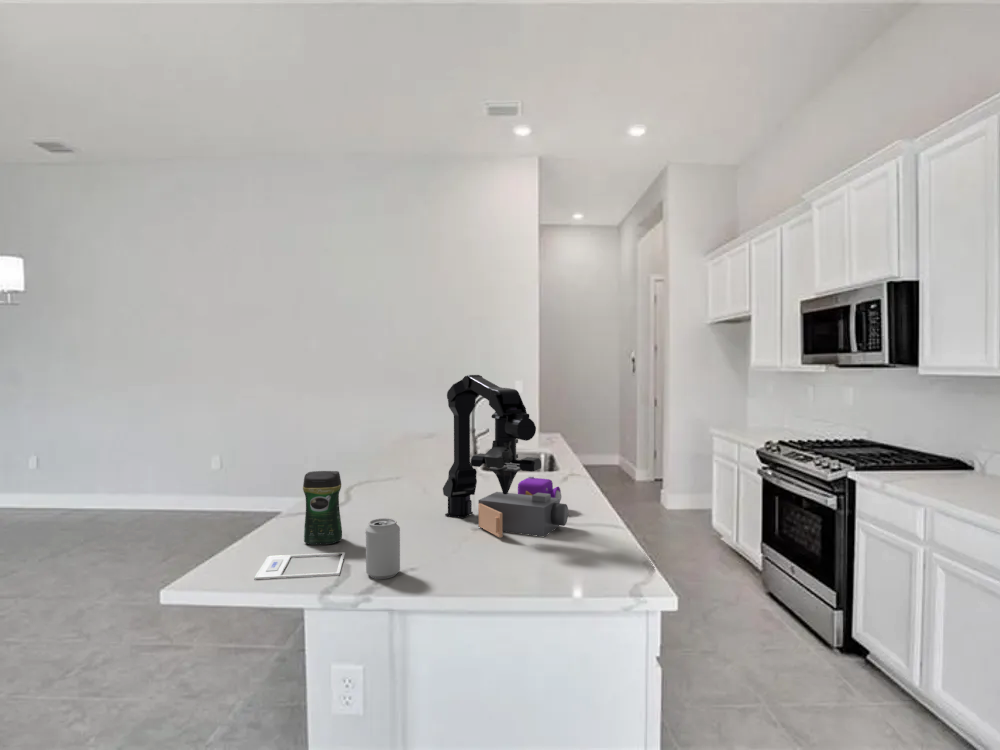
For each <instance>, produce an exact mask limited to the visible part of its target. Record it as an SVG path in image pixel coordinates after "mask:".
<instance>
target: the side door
mask: <svg viewBox="0 0 1000 750" xmlns="http://www.w3.org/2000/svg"><path fill="white" fill-rule="evenodd" d="M479 527H481V528H480V529H482V528H483V530H484V531H487V532H489V533H491V534H492V535H494V536H496V537H498V538H503V531H502V513H501V512H499V511H497V510H494V509H492V508H490V507H488V506H486V505H483V504H481V503H479Z"/></svg>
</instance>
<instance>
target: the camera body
mask: <svg viewBox="0 0 1000 750" xmlns="http://www.w3.org/2000/svg"><path fill="white" fill-rule="evenodd" d="M479 503H481V504H483V505H486V506H488V507H490V508H492V509H494V510H497V511H499V512H501V513H502V532H504V531H507V532H506V533H511V532H514V533H513V534H518V533H522V534H521V535H525V534H529V535H528V536H533V535H537V536H536V537H540V536H545V537H546V536H547V534H548V533H549V534H550V533H552V532H553V531H554V529H555V528H556V529H557V528H559V527H560V526H562V527H564V526H566V525H567V523H568V519H569V507H568V504H567V503H561V501H560V498H551V494H546V493H536V494H534V495H523V494H518V493H513V492H508V494H503V492H502V491H495V492H493V493H491V494H489V495H487V496H484V497H482V498H480V499H478V512H477V513H478V519H477V521H478V526H477V527H479ZM558 526H559V527H558ZM479 529H482V528H481V527H480V528H479ZM556 529H555V530H556ZM552 530H553V531H552ZM551 531H552V532H551ZM549 534H548V535H549Z"/></svg>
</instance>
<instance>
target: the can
mask: <svg viewBox="0 0 1000 750" xmlns="http://www.w3.org/2000/svg"><path fill="white" fill-rule="evenodd" d="M397 523H398V522H397V519H395V518H389V517H385V518H375V519H371V520H370V521H368V526H367V527H366V528H365V572H366V574H368V575H369V577H370V578H372V579H378V580H384V579H391V578H393V577H395V576H396V575H397V574H398V573H399V572H400V571H401V530H400V529H401V527H400V526H399V525H398V524H397Z"/></svg>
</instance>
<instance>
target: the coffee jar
mask: <svg viewBox="0 0 1000 750" xmlns="http://www.w3.org/2000/svg"><path fill="white" fill-rule="evenodd" d="M302 485H303V486H302V490H303V491H302V492H303V493H304V495H305V517H304V528H303V529H304V530H303V541H304V543H305V544H306V545H314V546H315V545H317V546H319V545H321V546H322V545H330V544H335V543H337V542H340V541H341V540H342V538H343V527H342V519H341V512H340V492H341V489H342V479H341V475H340V471H338V470H318V471H317V470H315V471H309V472H306V474H304V479H303V484H302Z"/></svg>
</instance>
